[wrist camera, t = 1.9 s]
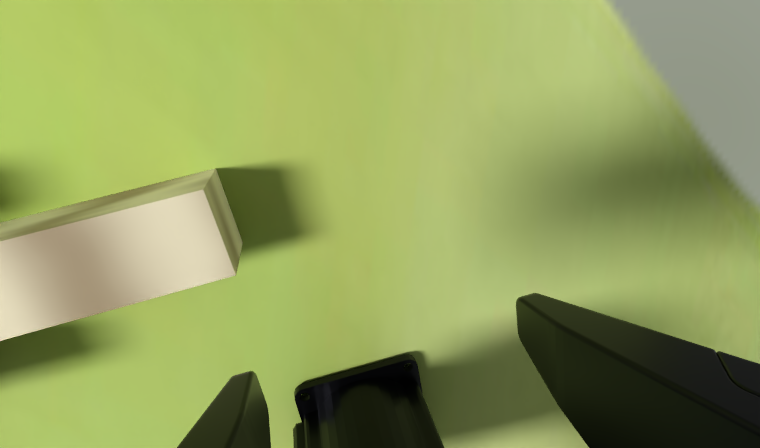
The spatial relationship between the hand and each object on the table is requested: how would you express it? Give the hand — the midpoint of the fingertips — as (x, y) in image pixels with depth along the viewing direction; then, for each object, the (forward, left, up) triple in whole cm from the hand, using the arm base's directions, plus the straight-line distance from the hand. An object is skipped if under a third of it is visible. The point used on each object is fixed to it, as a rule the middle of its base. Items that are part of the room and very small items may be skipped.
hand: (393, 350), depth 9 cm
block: (+9, 0, -12) cm, 16 cm away
